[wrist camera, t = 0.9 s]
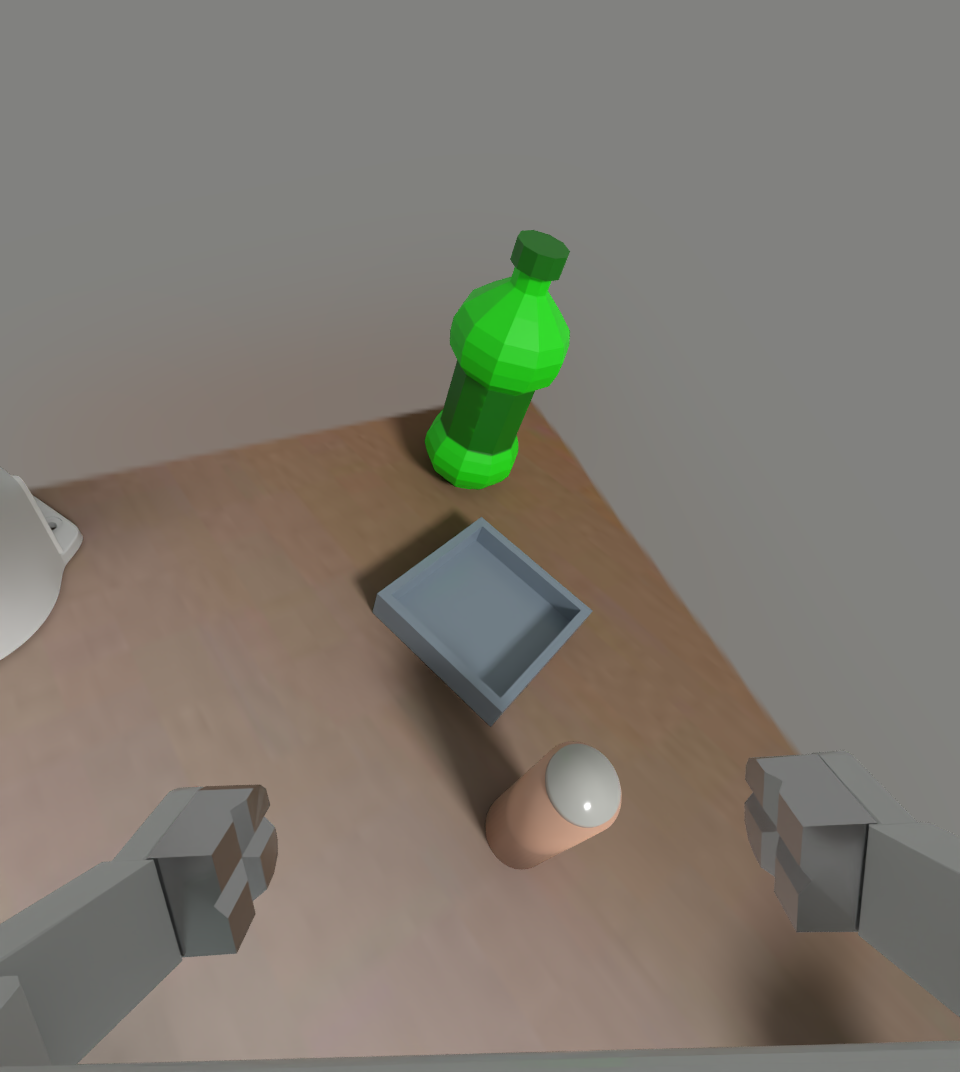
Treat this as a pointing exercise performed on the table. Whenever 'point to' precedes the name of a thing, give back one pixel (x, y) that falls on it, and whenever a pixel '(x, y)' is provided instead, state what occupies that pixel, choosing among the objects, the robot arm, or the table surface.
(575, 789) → the pink cylindrical can
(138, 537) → the table surface
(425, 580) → the shallow grey tray
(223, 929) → the robot arm
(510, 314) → the plastic bottle
